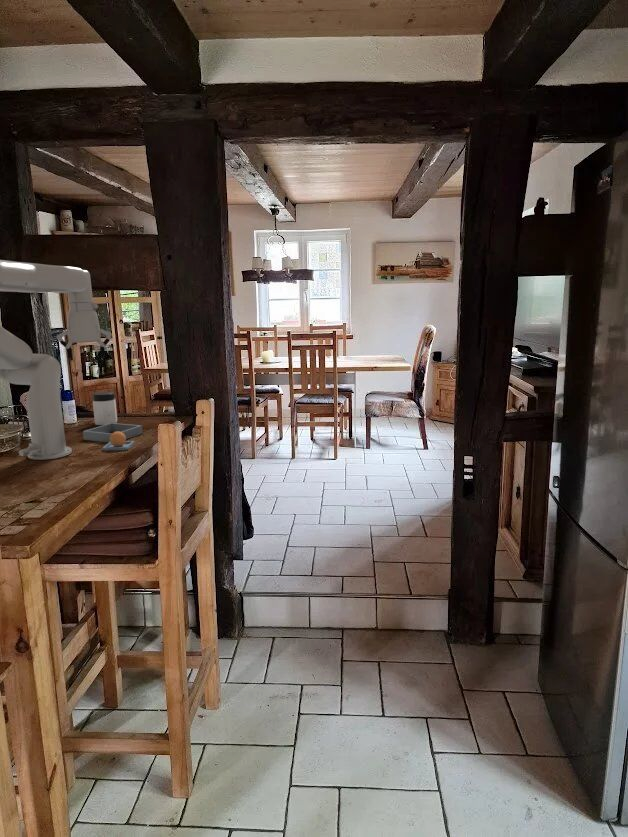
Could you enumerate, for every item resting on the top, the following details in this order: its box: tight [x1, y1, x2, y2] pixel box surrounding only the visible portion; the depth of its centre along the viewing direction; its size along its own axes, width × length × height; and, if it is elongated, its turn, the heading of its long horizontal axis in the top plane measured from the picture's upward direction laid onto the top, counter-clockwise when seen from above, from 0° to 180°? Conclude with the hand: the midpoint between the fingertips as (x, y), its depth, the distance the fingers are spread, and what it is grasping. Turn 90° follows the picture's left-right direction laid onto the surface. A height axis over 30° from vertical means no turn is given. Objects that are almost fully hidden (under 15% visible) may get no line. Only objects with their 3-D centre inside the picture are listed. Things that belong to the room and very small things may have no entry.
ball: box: [110, 431, 127, 447], centre depth 182 cm, size 5×5×5 cm
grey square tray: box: [82, 422, 144, 443], centre depth 197 cm, size 14×14×3 cm
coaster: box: [102, 440, 136, 452], centre depth 183 cm, size 8×8×1 cm
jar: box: [91, 390, 118, 426], centre depth 218 cm, size 9×8×12 cm
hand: (87, 359), depth 189 cm, fingers open, 9 cm apart
